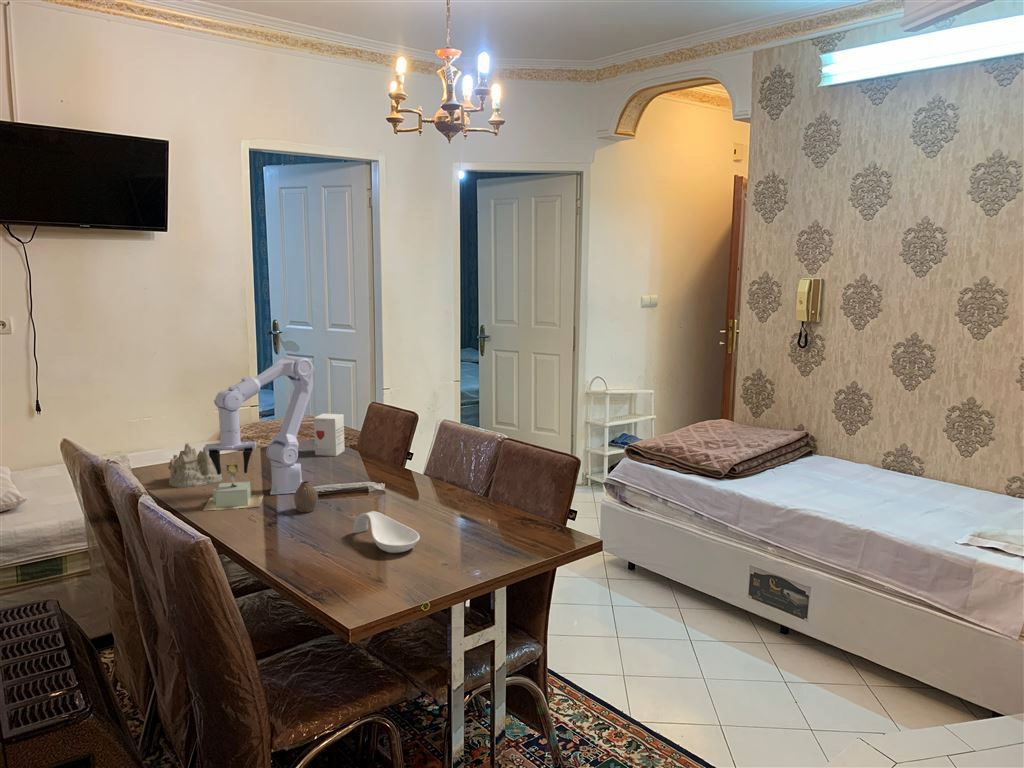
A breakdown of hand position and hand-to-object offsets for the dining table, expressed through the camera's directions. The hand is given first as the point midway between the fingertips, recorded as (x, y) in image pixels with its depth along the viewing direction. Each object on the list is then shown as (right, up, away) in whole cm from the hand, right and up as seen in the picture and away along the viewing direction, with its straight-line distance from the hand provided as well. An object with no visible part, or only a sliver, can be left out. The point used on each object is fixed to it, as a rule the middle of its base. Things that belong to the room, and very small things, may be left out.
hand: (232, 473), depth 228 cm
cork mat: (0, -10, +1) cm, 10 cm away
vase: (+24, -11, -5) cm, 27 cm away
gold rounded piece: (0, -5, +1) cm, 6 cm away
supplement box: (+14, 0, +64) cm, 65 cm away
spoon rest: (+52, -15, -32) cm, 62 cm away
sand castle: (-22, -6, +26) cm, 35 cm away
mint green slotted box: (0, -10, +1) cm, 10 cm away
